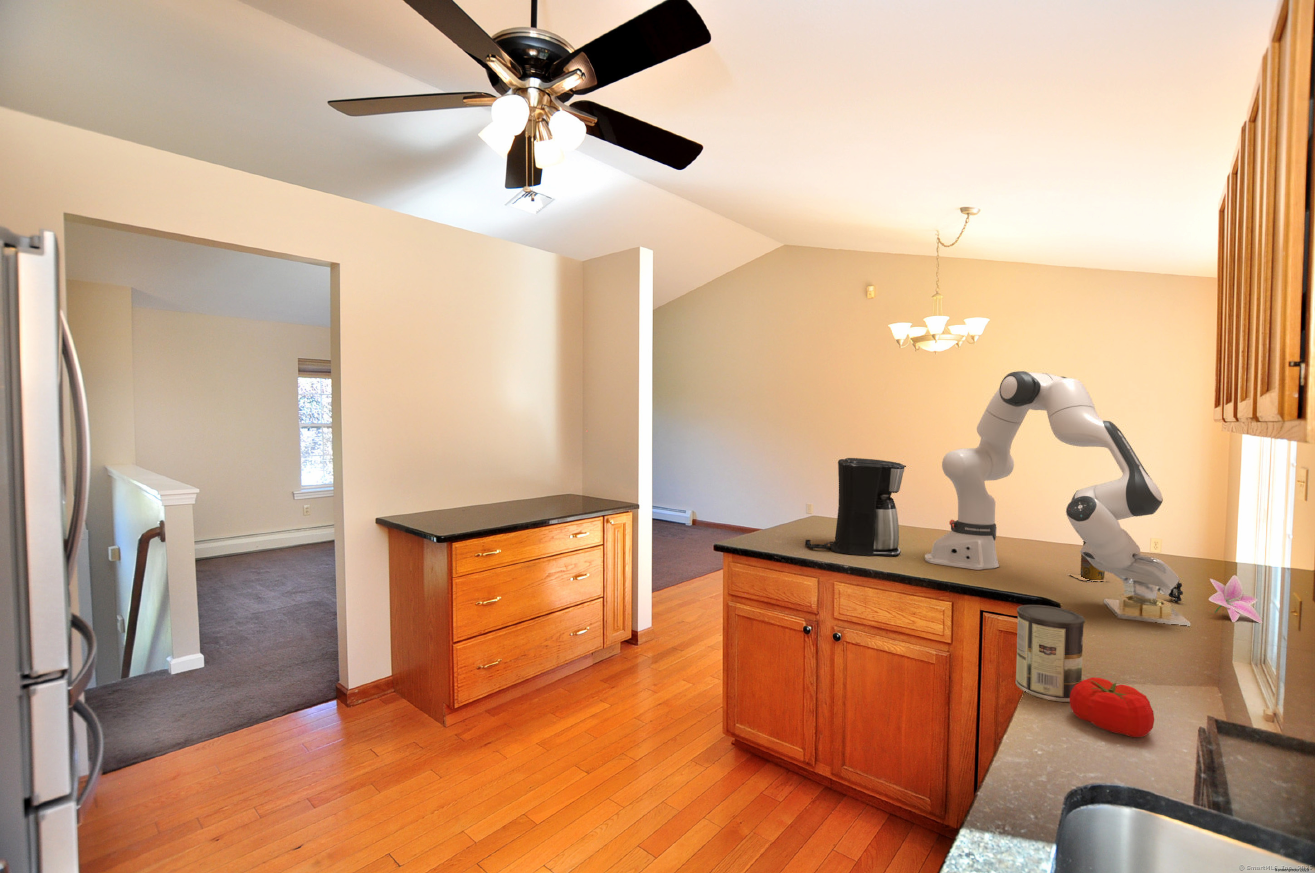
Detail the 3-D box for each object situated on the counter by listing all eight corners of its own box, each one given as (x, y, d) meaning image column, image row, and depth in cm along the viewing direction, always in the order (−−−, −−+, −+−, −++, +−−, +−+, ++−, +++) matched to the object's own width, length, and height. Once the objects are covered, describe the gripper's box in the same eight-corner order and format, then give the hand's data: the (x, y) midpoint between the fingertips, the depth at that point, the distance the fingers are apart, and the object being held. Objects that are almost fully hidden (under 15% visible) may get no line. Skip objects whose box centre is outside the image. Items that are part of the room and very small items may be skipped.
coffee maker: (914, 556, 214) (917, 461, 213) (830, 560, 207) (832, 462, 206) (878, 542, 236) (880, 456, 235) (801, 545, 229) (803, 457, 228)
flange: (1118, 617, 150) (1118, 604, 150) (1103, 602, 163) (1104, 589, 163) (1190, 626, 144) (1190, 612, 144) (1169, 609, 157) (1169, 596, 157)
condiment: (1111, 582, 183) (1112, 543, 182) (1082, 581, 183) (1083, 542, 183) (1095, 576, 190) (1097, 538, 189) (1067, 575, 191) (1068, 537, 190)
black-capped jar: (1134, 611, 152) (1135, 574, 152) (1128, 605, 157) (1129, 569, 157) (1160, 614, 150) (1161, 576, 150) (1153, 608, 155) (1154, 571, 155)
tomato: (1079, 704, 105) (1080, 667, 105) (1160, 729, 97) (1161, 689, 96) (1061, 722, 98) (1062, 683, 98) (1146, 751, 90) (1148, 708, 90)
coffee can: (1064, 679, 115) (1067, 605, 114) (1093, 705, 104) (1096, 624, 104) (1005, 674, 116) (1008, 602, 116) (1028, 699, 106) (1031, 620, 106)
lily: (1196, 621, 152) (1220, 593, 147) (1185, 592, 161) (1206, 565, 156) (1254, 642, 148) (1280, 615, 143) (1239, 611, 157) (1263, 584, 152)
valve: (1127, 599, 166) (1182, 605, 161) (1128, 575, 166) (1183, 581, 161) (1120, 593, 172) (1173, 598, 167) (1120, 570, 172) (1174, 575, 167)
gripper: (1166, 550, 141) (1198, 590, 144) (1088, 533, 161) (1118, 568, 164) (1149, 570, 141) (1182, 609, 143) (1074, 550, 161) (1103, 585, 163)
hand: (1147, 587), depth 153 cm, fingers open, 8 cm apart
